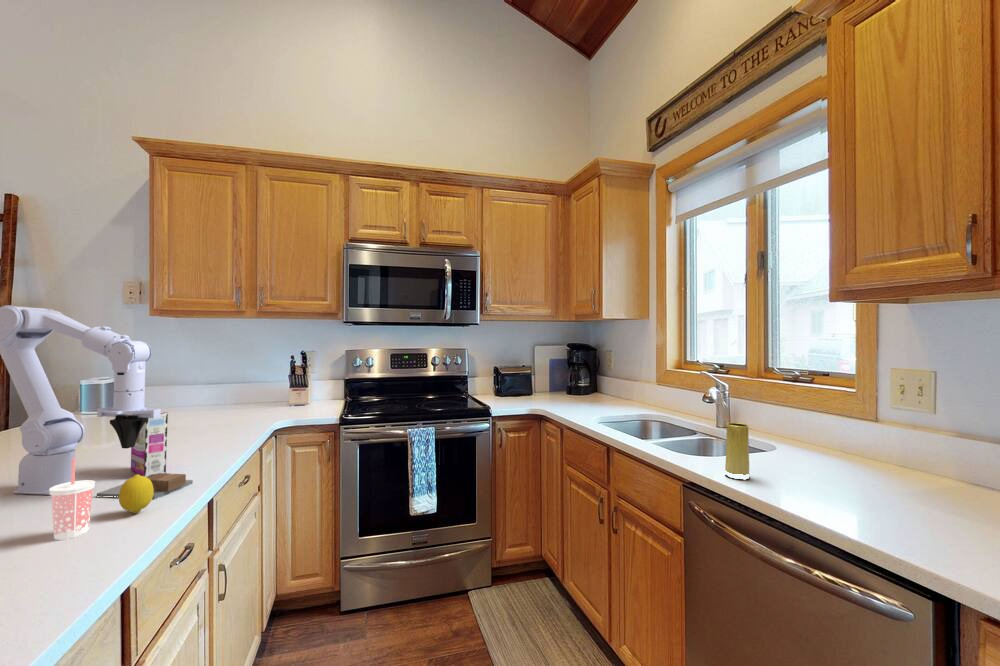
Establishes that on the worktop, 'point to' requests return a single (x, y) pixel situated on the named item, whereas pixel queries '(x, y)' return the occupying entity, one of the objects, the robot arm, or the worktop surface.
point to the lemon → (136, 493)
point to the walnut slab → (167, 481)
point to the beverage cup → (71, 506)
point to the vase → (737, 449)
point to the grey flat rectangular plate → (156, 494)
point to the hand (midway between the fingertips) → (128, 447)
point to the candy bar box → (151, 447)
